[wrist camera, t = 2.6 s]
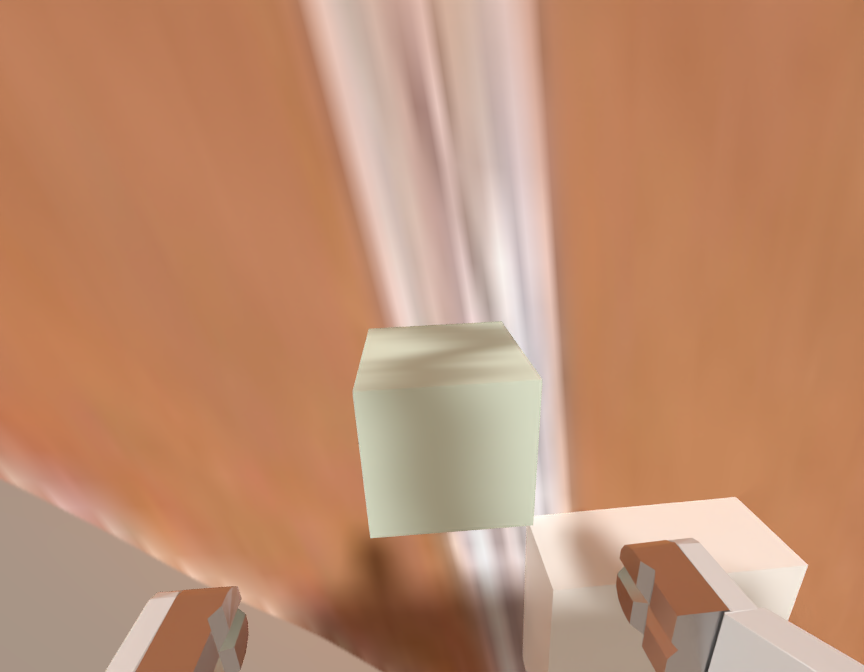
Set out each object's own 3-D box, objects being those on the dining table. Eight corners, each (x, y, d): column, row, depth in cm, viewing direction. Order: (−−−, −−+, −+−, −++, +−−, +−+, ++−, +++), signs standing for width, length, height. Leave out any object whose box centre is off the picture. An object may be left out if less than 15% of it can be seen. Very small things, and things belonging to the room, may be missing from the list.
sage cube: (500, 320, 15) (542, 379, 11) (498, 432, 17) (533, 525, 12) (369, 328, 15) (352, 391, 10) (380, 440, 17) (370, 537, 12)
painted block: (730, 492, 19) (808, 565, 16) (695, 632, 23) (751, 720, 19) (524, 510, 19) (553, 590, 15) (520, 651, 23) (543, 743, 19)
